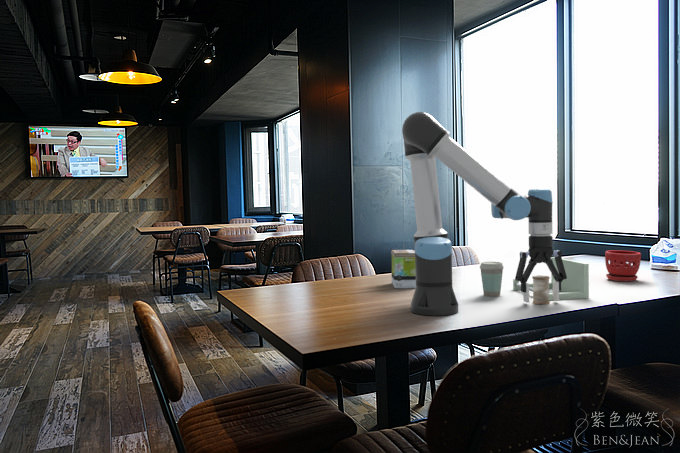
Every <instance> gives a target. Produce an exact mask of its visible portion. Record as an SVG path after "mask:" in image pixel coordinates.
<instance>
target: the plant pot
mask: <svg viewBox="0 0 680 453" xmlns="http://www.w3.org/2000/svg"><path fill="white" fill-rule="evenodd" d="M604 255H605V256H604V262H605V268H606V271H607V273H606V275H605V276H606V278H607V279H608V280H610V281H615V282H634V281H636V280H637V279H638V278H639V277H638V275H637V273H638V272H639V270H640V266H641V260H642V253H641V252H638V251H633V250H617V249H616V250H615V249H614V250H612V249H611V250H606V251H605V254H604Z"/></svg>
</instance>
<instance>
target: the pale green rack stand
mask: <svg viewBox="0 0 680 453" xmlns="http://www.w3.org/2000/svg"><path fill="white" fill-rule="evenodd" d="M551 259H552V261H553V264H554V266H555V268H556V270H557V271H558V268H557V265H556V261H555V257H554V256H551ZM562 261H563V265H564V269H565V272H566V276H567V279H564V280H563V281H562V282H561V292H559V300H575V299H578V300H579V299H590V291H589V290H590V287H589V286H590V283H589V282H590V280H589V278H590V276H589V275H590V274H589V272H590V271H589V270H590V267H589V265H590V264H589V263H588V262H587V263H586V262H582V261H577V260H572V259H568V258H563V257H562ZM550 273H551V272H550ZM558 273H559V272H558ZM550 279H551V282H549V289H553V281H556V280H555V279H554V277H553V275H552V273H551V278H550ZM528 283H529V282H528ZM512 285H513V286H512V289H513V290H514V291H519V290H520V291H521V283H520V281H517V280H515V278H513V279H512ZM529 292H532V293H533V282H532V283H529ZM549 301H554V300H553V292H549Z"/></svg>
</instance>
